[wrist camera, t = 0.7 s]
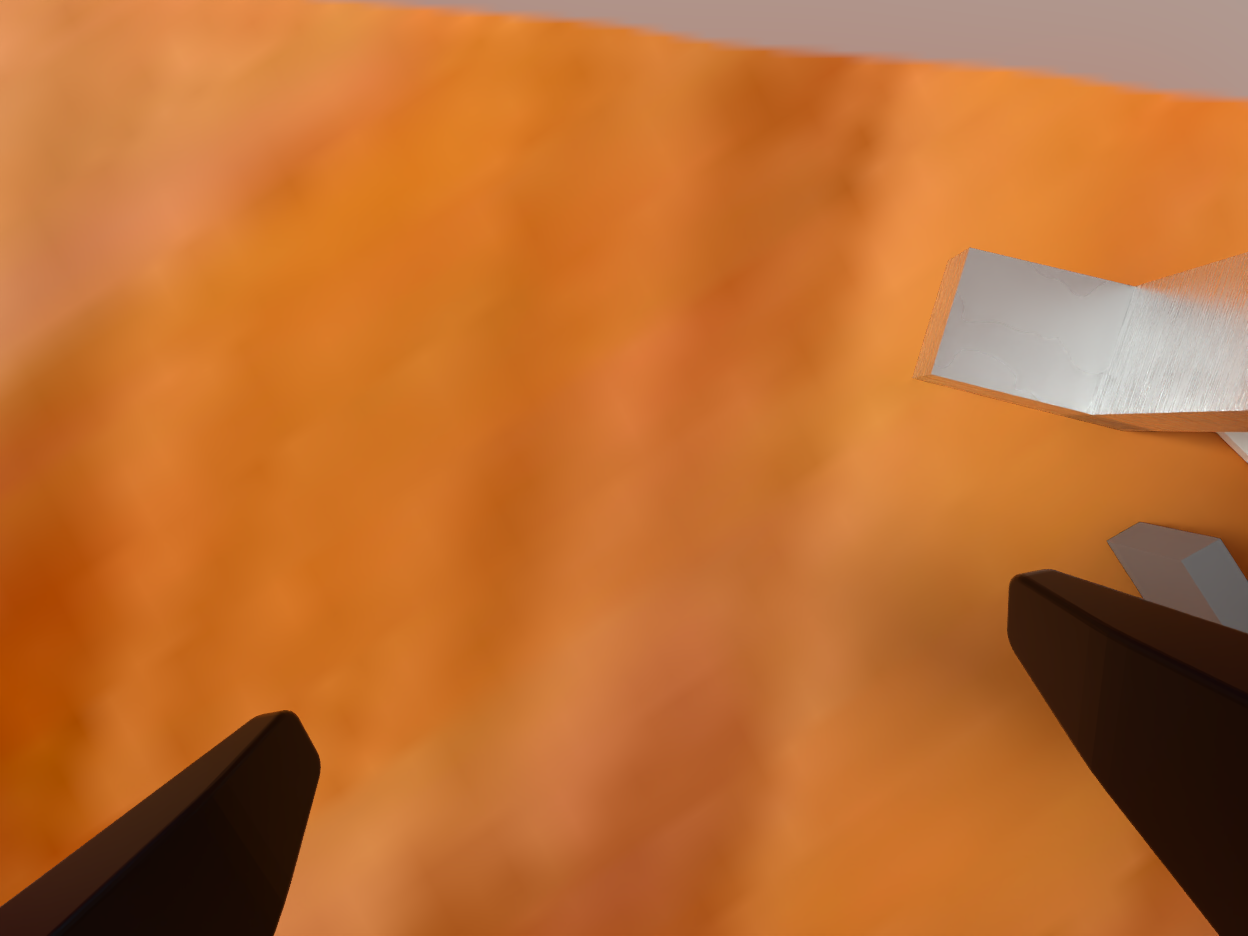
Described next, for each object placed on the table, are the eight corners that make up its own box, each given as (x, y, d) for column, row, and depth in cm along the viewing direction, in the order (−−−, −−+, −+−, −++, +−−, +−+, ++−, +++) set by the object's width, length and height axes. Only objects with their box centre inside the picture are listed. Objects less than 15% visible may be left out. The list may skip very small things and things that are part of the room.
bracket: (1162, 311, 20) (2095, 92, 7) (1122, 430, 20) (1936, 439, 7) (947, 260, 20) (1437, -37, 7) (912, 378, 20) (1318, 295, 8)
